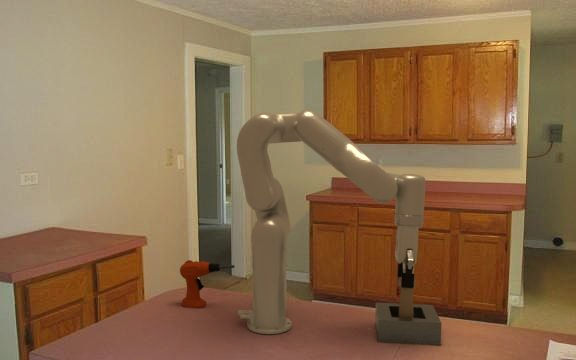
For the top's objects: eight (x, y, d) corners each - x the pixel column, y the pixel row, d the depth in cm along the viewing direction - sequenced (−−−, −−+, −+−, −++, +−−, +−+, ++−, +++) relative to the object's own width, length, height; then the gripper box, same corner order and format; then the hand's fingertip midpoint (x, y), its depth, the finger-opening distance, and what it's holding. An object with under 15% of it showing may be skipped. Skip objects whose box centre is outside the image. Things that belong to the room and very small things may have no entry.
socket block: (378, 342, 133) (378, 319, 133) (375, 322, 147) (375, 302, 147) (440, 345, 132) (441, 322, 131) (432, 325, 145) (432, 305, 145)
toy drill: (236, 307, 156) (230, 258, 155) (180, 309, 160) (174, 262, 159) (241, 301, 160) (235, 255, 159) (186, 304, 165) (180, 259, 164)
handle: (397, 337, 137) (399, 283, 135) (395, 328, 143) (396, 276, 142) (416, 338, 136) (417, 283, 135) (412, 329, 142) (414, 277, 141)
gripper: (392, 214, 146) (388, 272, 147) (397, 225, 129) (394, 291, 130) (418, 216, 145) (415, 274, 146) (428, 226, 128) (423, 293, 129)
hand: (405, 282), depth 138 cm, fingers open, 9 cm apart
